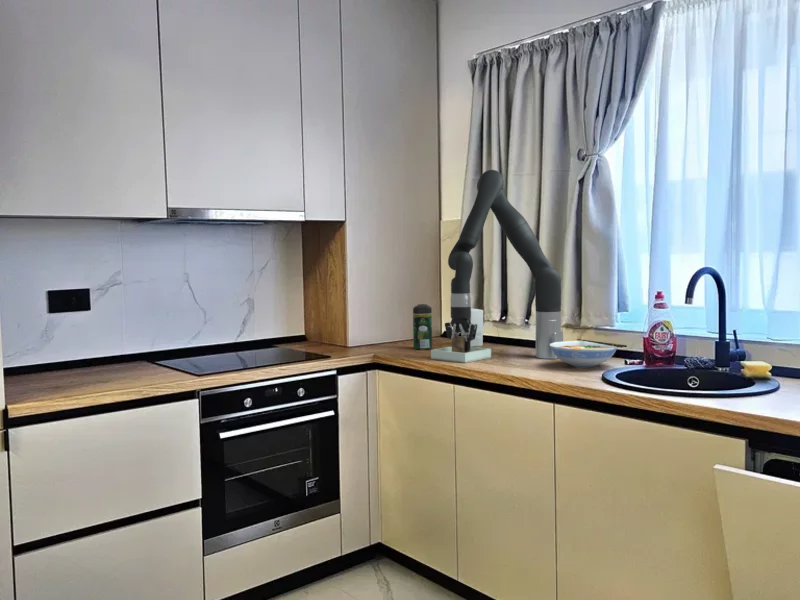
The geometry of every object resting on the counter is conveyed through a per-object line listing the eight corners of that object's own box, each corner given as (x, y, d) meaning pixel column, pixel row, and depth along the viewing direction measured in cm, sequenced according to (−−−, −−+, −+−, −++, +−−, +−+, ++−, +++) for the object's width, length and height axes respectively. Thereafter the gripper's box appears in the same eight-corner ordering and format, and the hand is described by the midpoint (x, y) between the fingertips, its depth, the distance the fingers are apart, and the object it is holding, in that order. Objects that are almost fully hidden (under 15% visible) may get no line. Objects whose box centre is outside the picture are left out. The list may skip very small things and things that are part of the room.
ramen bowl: (534, 363, 242) (534, 340, 242) (588, 359, 250) (588, 336, 250) (577, 374, 219) (577, 348, 218) (635, 369, 227) (635, 344, 227)
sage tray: (491, 357, 257) (491, 348, 256) (465, 363, 245) (465, 353, 245) (457, 354, 268) (457, 345, 267) (430, 359, 256) (430, 349, 256)
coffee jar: (413, 347, 291) (413, 303, 290) (432, 347, 291) (431, 303, 290) (413, 350, 281) (412, 305, 280) (432, 350, 281) (431, 304, 280)
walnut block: (470, 353, 256) (470, 337, 256) (462, 354, 253) (462, 338, 252) (459, 352, 260) (459, 336, 259) (451, 353, 256) (451, 337, 256)
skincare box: (460, 344, 297) (460, 308, 296) (473, 343, 300) (473, 308, 299) (470, 346, 290) (470, 310, 289) (484, 345, 292) (483, 309, 291)
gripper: (482, 305, 253) (482, 351, 254) (451, 304, 263) (452, 348, 264) (470, 306, 247) (470, 353, 248) (439, 305, 257) (439, 350, 258)
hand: (461, 350), depth 256 cm, fingers closed on walnut block, 5 cm apart
